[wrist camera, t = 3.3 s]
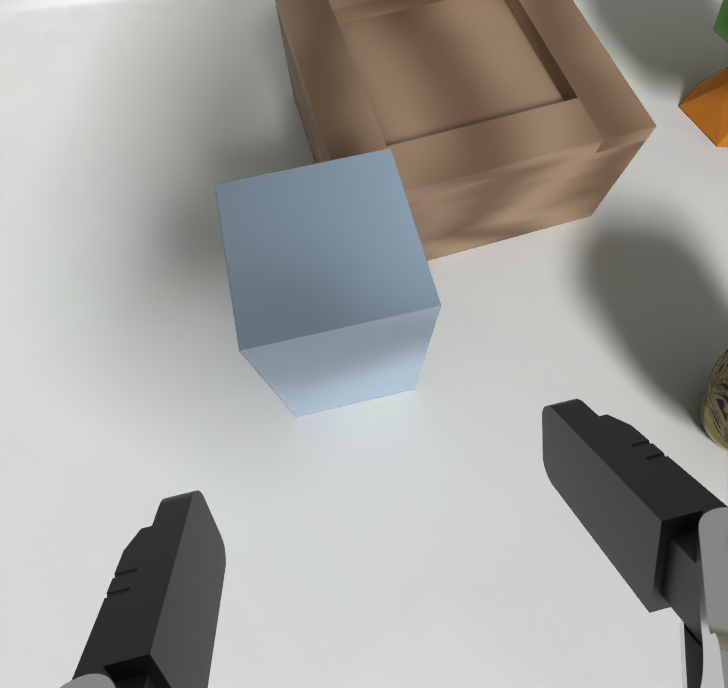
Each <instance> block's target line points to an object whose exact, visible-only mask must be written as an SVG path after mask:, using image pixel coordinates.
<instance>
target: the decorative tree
mask: <svg viewBox="0 0 728 688" xmlns="http://www.w3.org/2000/svg"><path fill="white" fill-rule="evenodd" d="M714 31H715V32H716V33H717V34H718V35H719V36H721V37H722V38H723V39H724V40H725V41H726V42H727V43H728V0H723V2H722V5H721V8H720V11H719V14H718V18H717V21H716V24H715V27H714ZM679 107H680V108H681V109H682V110H683V111H684V112H685V113H686V114H687V115H688V116H689V117H690V118H691V119H692V120H693V122H694V123H695V124H696V125H697V126H698V127H699V128H700V129H701V130H702V131H703V132H704V133H705V134H706V135H707V136H708V137H709V138H710V139H711V141H712V142H713V143H714V144H715V145H716V146H723V147H728V67H727V68H725V69H723V70H721V71H720V72H718V73H716V74H714V75H712V76H710V77H709V78H707V79H705V80H703V81H701V82H700V83H699V84H698V85H697V86H696V87H695V89H694V90H693V91H692V92H691V93H690V94H689V95H688V96H687V97H686V99H685V100H684V101H683V102H682V103H681V104H680V105H679Z"/></svg>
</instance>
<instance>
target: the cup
mask: <svg viewBox="0 0 728 688" xmlns="http://www.w3.org/2000/svg"><path fill="white" fill-rule="evenodd" d="M700 418H701V422H702V425H703V427H704V429H705V431H706V433H707V434H708V435H709V437H710V438H711V439H712V440H713V441H714V442H715V443H716V444H717V445H719V446H720V447H721V448H723V449H724V450H726V451H728V350H727V351H726V352H725V353H724V354H723V355H722V356H721V357H720V359H719V360H718V361H717V363H716V365H715V367H714V368H713V370H712V372H711V375H710V377H709V381H708V386H707V393H706V395H705V396H704V398H703V400H702V403H701V406H700Z"/></svg>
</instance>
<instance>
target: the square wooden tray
mask: <svg viewBox="0 0 728 688" xmlns="http://www.w3.org/2000/svg"><path fill="white" fill-rule="evenodd" d="M275 3H276V8H277V13H278V18H279V23H280V28H281V33H282V38H283V43H284V48H285V53H286V58H287V64H288V69H289V74H290V79H291V84H292V89H293V94H294V98H295V101H296V104H297V107H298V110H299V113H300V116H301V120H302V123H303V126H304V129H305V132H306V135H307V138H308V141H309V144H310V147H311V150H312V153H313V157H314V160H315V163H321V162H326V161H331V160H336V159H341V158H346V157H351V156H356V155H360V154H365V153H370V152H375V151H380V150H385V149H390V148H391V151H392V154H393V157H394V161H395V164H396V167H397V170H398V173H399V176H400V179H401V182H402V185H403V189H404V192H405V195H406V198H407V201H408V204H409V207H410V210H411V214H412V217H413V220H414V223H415V226H416V229H417V232H418V235H419V239H420V242H421V245H422V248H423V251H424V254H425V257H426V260H427V261H429V260H432V259H436V258H439V257H443V256H447V255H450V254H454V253H458V252H461V251H465V250H468V249H472V248H476V247H479V246H483V245H487V244H490V243H494V242H498V241H501V240H505V239H508V238H512V237H516V236H519V235H523V234H527V233H530V232H534V231H537V230H541V229H545V228H548V227H552V226H556V225H559V224H563V223H566V222H570V221H574V220H577V219H581V218H585V217H588V216H591V215H592V213H593V212H594V211H595V209H596V208H597V206H598V205H599V204H600V202H601V201H602V200H603V198H604V197H605V196H606V194H607V193H608V191H609V190H610V189H611V187H612V186H613V185H614V183H615V182H616V180H617V179H618V178H619V176H620V175H621V174H622V172H623V171H624V170H625V168H626V167H627V165H628V164H629V163H630V161H631V160H632V159H633V157H634V156H635V154H636V153H637V152H638V150H639V149H640V148H641V146H642V145H643V144H644V142H645V141H646V139H647V138H648V137H649V135H650V134H651V133H652V131H653V130H654V128H655V127H656V124H655V123H654V122H653V120H652V119H651V117H650V116H649V114H648V113H647V111H646V110H645V108H644V107H643V105H642V104H641V102H640V101H639V99H638V98H637V96H636V95H635V93H634V92H633V90H632V89H631V87H630V86H629V84H628V83H627V81H626V80H625V78H624V77H623V75H622V74H621V72H620V71H619V69H618V68H617V66H616V65H615V63H614V62H613V60H612V59H611V57H610V56H609V54H608V53H607V51H606V50H605V48H604V47H603V45H602V44H601V42H600V41H599V39H598V38H597V36H596V35H595V33H594V32H593V30H592V29H591V27H590V26H589V24H588V23H587V21H586V20H585V18H584V17H583V15H582V14H581V12H580V11H579V9H578V8H577V6H576V5H575V3H574V2H573V0H275Z"/></svg>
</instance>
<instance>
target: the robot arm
mask: <svg viewBox="0 0 728 688" xmlns="http://www.w3.org/2000/svg"><path fill="white" fill-rule="evenodd" d="M542 429H543V461H544V466H545V470H546V473H547V475H548V477H549V479H550V481H551V483H552V484H553V486H554V487H555V489H556V490H557V491H558V493H559V494H560V495H561V497H562V498H563V499H564V500H565V502H566V503H567V504H568V506H569V507H570V508H571V510H572V511H573V512H574V514H575V515H576V516H577V518H578V519H579V520H580V522H581V523H582V524H583V526H584V527H585V528H586V530H587V531H588V532H589V533H590V535H591V536H592V537H593V539H594V540H595V541H596V543H597V544H598V545H599V547H600V548H601V549H602V551H603V552H604V553H605V555H606V556H607V557H608V559H609V560H610V561H611V563H612V564H613V565H614V566H615V568H616V569H617V570H618V572H619V573H620V574H621V576H622V577H623V578H624V580H625V581H626V582H627V584H628V585H629V586H630V588H631V589H632V590H633V592H634V593H635V594H636V596H637V597H638V598H639V599H640V601H641V602H642V603H643V605H644V606H645V607H646V609H647V610H648V611H649V613H650V612H654V611H657V610H661V609H665V608H668V607H672V609H673V610H674V611H675V612H676V613H677V615H678V616H679V617H680V618H681V624H680V641H681V662H682V682H683V688H728V506H726V505H725V504H724V503H723V502H721V501H720V500H719V499H718V498H717V497H715V496H714V495H713V494H712V493H711V492H710V491H708V490H707V489H706V488H705V487H704V486H702V485H701V484H700V483H699V482H698V481H696V480H695V479H694V478H693V477H692V476H691V475H689V474H688V473H687V472H686V471H685V470H683V469H682V468H681V467H680V466H679V465H678V464H676V463H675V462H674V461H673V460H672V459H670V458H669V457H668V456H667V457H665V455H664V453H663V452H662V451H661V450H660V449H659V448H657V447H656V446H655V445H654V444H653V443H652V444H650V443H649V440H648V439H647V438H645V437H644V436H643V435H642V434H641V433H640V432H638V431H637V430H636V429H635V428H634V427H632V426H631V425H629V424H627V423H625V422H623V421H620V420H618V419H616V418H614V417H612V416H609V415H603V416H598V415H597V414H596V413H595V412H594V411H592V410H591V409H590V408H589V407H588V406H587V405H586V404H585V403H584V402H582V401H581V400H579V399H573V400H569V401H565V402H561V403H557V404H553V405H549V406H545V407H544V409H543V412H542ZM225 566H226V557H225V548H224V543H223V540H222V537H221V535H220V532H219V530H218V528H217V526H216V523H215V521H214V519H213V517H212V514H211V512H210V510H209V508H208V505H207V503H206V501H205V499H204V496H203V495H202V493H201V492H200V491H193V492H189V493H185V494H181V495H177V496H173V497H169V498H165V499H163V500H162V501H161V503H160V505H159V508H158V511H157V513H156V516H155V519H154V522H153V525H152V526H150V527H146V528H142V529H141V530H140V531H139V532H138V533H137V535H136V536H135V537H134V539H133V540H132V541H131V542H130V544H129V545H128V546H127V547H126V549H125V550H124V551H123V554H122V556H121V559H120V561H119V564H118V566H117V569H116V571H115V578H113V579H112V581H111V584H110V586H109V589H108V591H107V598H105V599H104V601H103V604H102V606H101V609H100V611H99V614H98V616H97V619H96V621H95V624H94V626H93V629H92V631H91V634H90V636H89V639H88V641H87V644H86V646H85V649H84V651H83V654H82V656H81V659H80V661H79V664H78V666H77V669H76V671H75V674H74V676H73V678H72V680H71V681H70V682H68V683H66V684H65V685H63V686H62V687H60V688H207V687H208V681H209V674H210V667H211V661H212V654H213V647H214V640H215V634H216V627H217V620H218V614H219V607H220V600H221V593H222V587H223V580H224V573H225Z"/></svg>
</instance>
